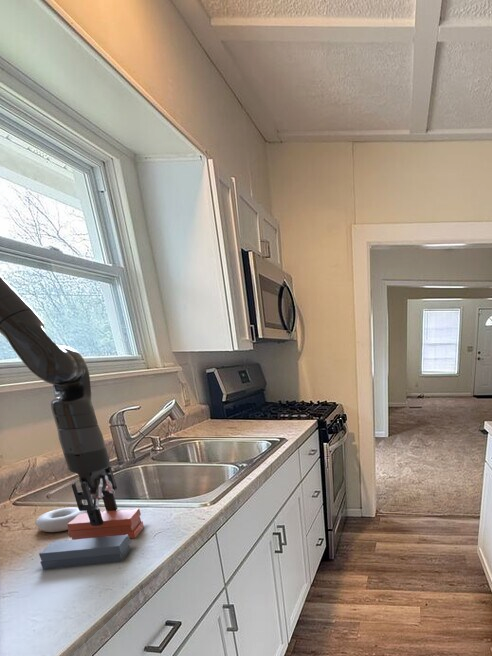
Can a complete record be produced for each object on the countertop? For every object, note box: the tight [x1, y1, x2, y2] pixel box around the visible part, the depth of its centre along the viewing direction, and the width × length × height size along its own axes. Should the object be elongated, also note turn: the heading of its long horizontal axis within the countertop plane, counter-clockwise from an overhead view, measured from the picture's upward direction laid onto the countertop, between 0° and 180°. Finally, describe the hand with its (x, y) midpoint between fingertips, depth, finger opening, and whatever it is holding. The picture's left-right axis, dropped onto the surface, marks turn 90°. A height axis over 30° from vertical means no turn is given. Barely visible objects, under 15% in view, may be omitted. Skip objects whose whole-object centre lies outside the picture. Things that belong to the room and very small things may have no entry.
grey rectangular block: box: [38, 535, 132, 571], centre depth 82 cm, size 14×5×4 cm, turn 103°
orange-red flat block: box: [67, 515, 145, 540], centre depth 92 cm, size 13×6×3 cm, turn 103°
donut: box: [35, 507, 87, 533], centre depth 97 cm, size 10×3×10 cm
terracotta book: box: [67, 508, 142, 531], centre depth 91 cm, size 12×6×2 cm, turn 103°
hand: (105, 517), depth 91 cm, fingers open, 8 cm apart
